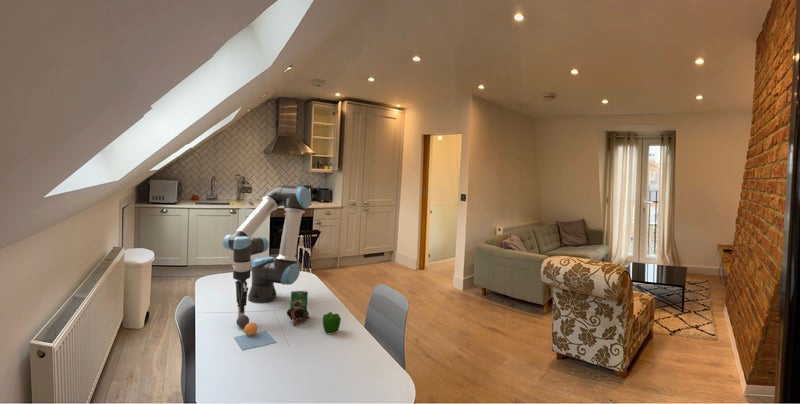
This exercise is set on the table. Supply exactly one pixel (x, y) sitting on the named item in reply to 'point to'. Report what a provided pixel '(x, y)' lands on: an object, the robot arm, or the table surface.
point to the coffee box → (299, 300)
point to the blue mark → (254, 340)
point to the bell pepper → (331, 322)
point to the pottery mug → (298, 315)
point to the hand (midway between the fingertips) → (241, 318)
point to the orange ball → (251, 329)
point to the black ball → (242, 320)
